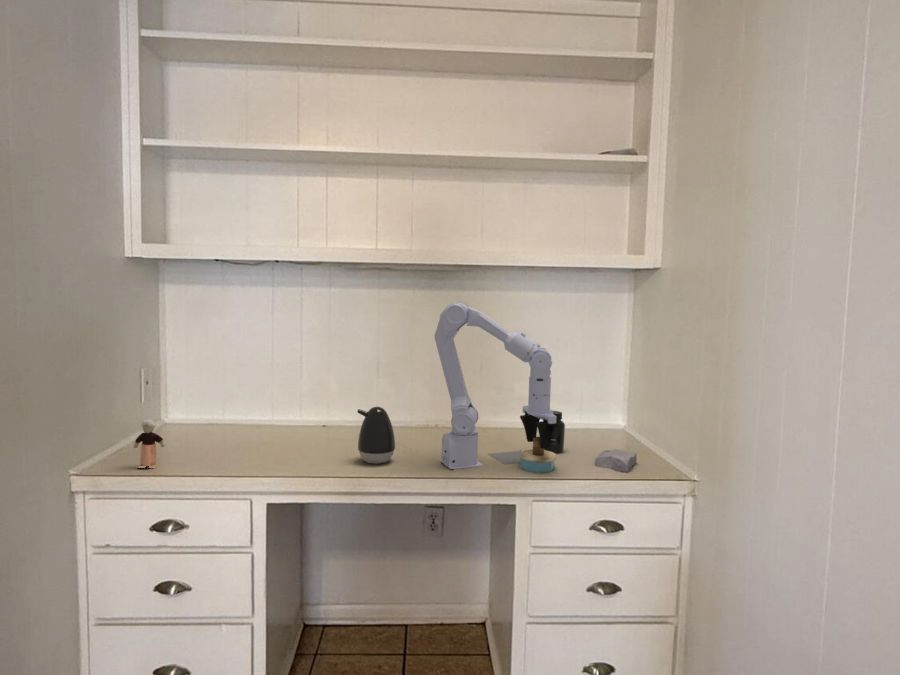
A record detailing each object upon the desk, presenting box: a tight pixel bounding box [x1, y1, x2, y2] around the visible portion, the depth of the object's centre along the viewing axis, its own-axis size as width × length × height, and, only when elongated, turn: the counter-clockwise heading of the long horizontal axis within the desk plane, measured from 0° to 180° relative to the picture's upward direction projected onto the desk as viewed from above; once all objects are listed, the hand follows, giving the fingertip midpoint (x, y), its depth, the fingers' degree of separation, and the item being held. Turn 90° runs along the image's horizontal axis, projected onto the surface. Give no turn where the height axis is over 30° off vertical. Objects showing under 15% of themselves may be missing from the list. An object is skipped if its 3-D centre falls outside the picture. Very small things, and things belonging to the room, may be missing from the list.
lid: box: [520, 436, 557, 462], centre depth 165 cm, size 10×10×5 cm
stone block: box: [594, 448, 638, 473], centre depth 170 cm, size 12×5×10 cm
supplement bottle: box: [544, 410, 566, 455], centre depth 182 cm, size 7×7×12 cm
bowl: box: [519, 457, 555, 474], centre depth 165 cm, size 8×8×3 cm
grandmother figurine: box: [132, 418, 166, 466], centre depth 159 cm, size 8×4×13 cm, turn 106°
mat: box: [487, 450, 523, 465], centre depth 175 cm, size 11×11×1 cm
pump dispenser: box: [357, 406, 396, 465], centre depth 169 cm, size 10×10×15 cm
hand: (537, 444), depth 164 cm, fingers open, 7 cm apart
